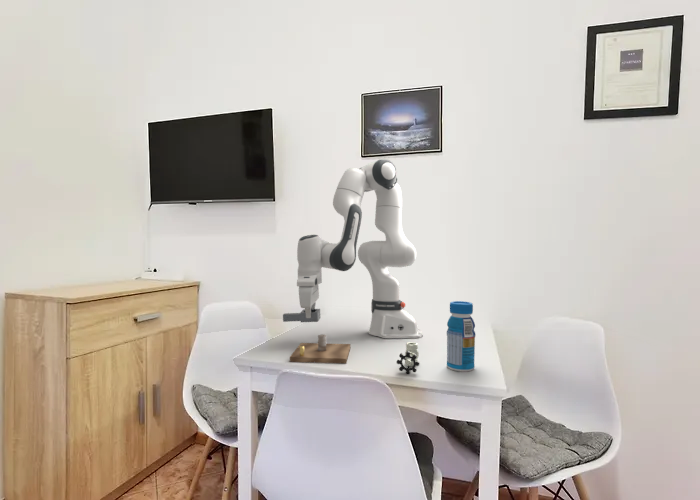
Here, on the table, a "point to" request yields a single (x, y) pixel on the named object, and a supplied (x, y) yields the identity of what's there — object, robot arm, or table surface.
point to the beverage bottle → (460, 337)
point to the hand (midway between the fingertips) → (310, 315)
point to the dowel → (301, 350)
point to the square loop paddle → (302, 316)
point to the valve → (409, 357)
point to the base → (322, 352)
